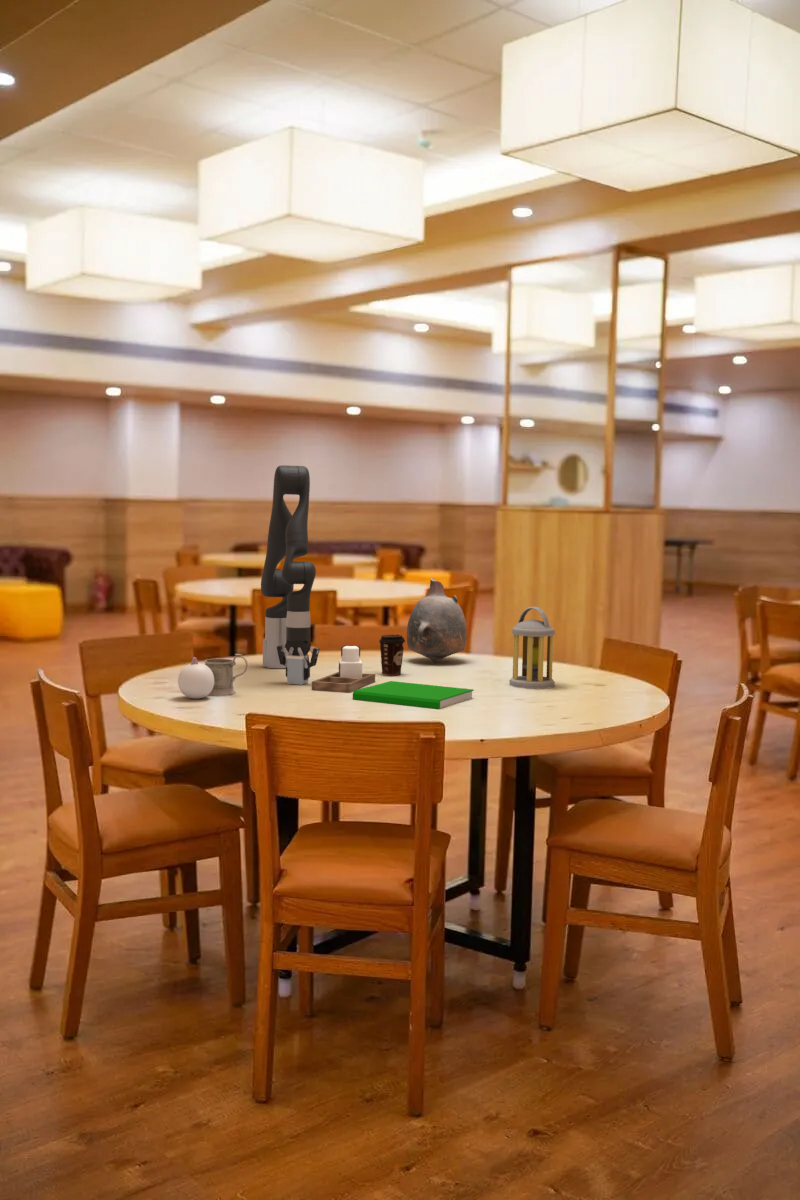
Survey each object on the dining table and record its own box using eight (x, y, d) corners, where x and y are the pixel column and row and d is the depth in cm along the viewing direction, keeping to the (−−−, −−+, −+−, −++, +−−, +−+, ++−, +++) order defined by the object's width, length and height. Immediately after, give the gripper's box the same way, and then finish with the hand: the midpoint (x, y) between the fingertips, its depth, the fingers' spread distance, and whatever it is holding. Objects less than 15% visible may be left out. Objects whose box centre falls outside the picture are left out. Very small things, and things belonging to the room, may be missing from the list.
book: (390, 690, 367) (390, 680, 367) (473, 699, 353) (473, 689, 353) (352, 701, 347) (352, 690, 347) (438, 710, 334) (438, 700, 333)
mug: (195, 694, 352) (196, 653, 351) (213, 689, 361) (213, 649, 360) (238, 697, 347) (239, 657, 346) (255, 693, 356) (255, 653, 355)
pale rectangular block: (286, 683, 373) (286, 655, 372) (293, 681, 378) (293, 653, 377) (302, 684, 372) (302, 656, 371) (309, 682, 377) (309, 654, 376)
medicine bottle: (338, 681, 380) (339, 644, 379) (361, 681, 381) (361, 644, 379) (339, 685, 373) (339, 647, 372) (362, 685, 373) (362, 647, 372)
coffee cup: (405, 672, 400) (406, 634, 399) (403, 676, 392) (404, 637, 391) (380, 672, 401) (380, 633, 400) (377, 675, 393) (377, 636, 392)
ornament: (184, 702, 338) (184, 660, 337) (173, 696, 347) (173, 655, 346) (218, 700, 343) (219, 658, 342) (207, 694, 352) (207, 654, 351)
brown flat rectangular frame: (311, 689, 363) (311, 681, 363) (338, 679, 384) (338, 671, 384) (350, 692, 359) (350, 684, 359) (375, 681, 380) (375, 674, 380)
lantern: (500, 684, 379) (502, 606, 376) (527, 680, 389) (529, 603, 387) (536, 690, 369) (538, 609, 367) (563, 685, 379) (565, 607, 377)
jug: (467, 667, 416) (469, 581, 413) (406, 666, 416) (407, 580, 414) (464, 657, 440) (466, 576, 438) (406, 656, 441) (407, 575, 438)
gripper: (272, 625, 372) (271, 679, 373) (315, 627, 367) (314, 682, 369) (282, 623, 379) (281, 676, 381) (324, 625, 375) (323, 679, 376)
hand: (297, 678), depth 375 cm, fingers closed on pale rectangular block, 5 cm apart
